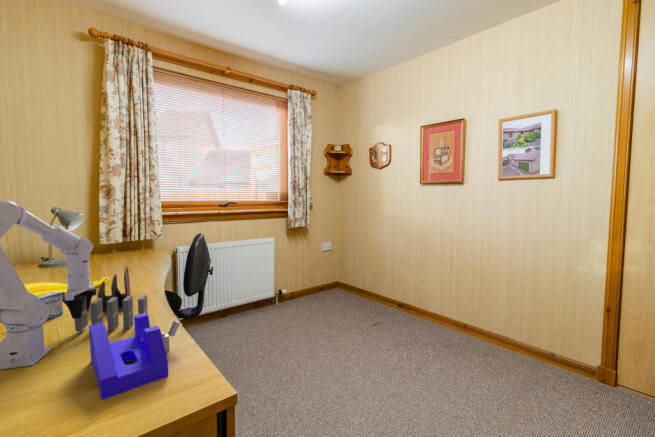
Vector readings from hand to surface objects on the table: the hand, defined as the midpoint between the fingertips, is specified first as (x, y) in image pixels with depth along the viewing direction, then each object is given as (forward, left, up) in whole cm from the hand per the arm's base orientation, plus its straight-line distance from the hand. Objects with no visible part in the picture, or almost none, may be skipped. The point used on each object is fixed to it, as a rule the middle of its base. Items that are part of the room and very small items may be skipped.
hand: (80, 314), depth 103 cm
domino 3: (0, -9, -6) cm, 11 cm away
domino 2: (0, -4, -6) cm, 7 cm away
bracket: (-29, -21, -6) cm, 37 cm away
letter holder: (+27, -1, -6) cm, 28 cm away
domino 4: (0, -13, -6) cm, 15 cm away
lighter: (-21, -29, -6) cm, 36 cm away
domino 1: (0, 0, -4) cm, 4 cm away
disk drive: (+47, +19, -6) cm, 51 cm away
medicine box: (+17, +17, -6) cm, 25 cm away
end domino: (0, -18, -6) cm, 19 cm away
